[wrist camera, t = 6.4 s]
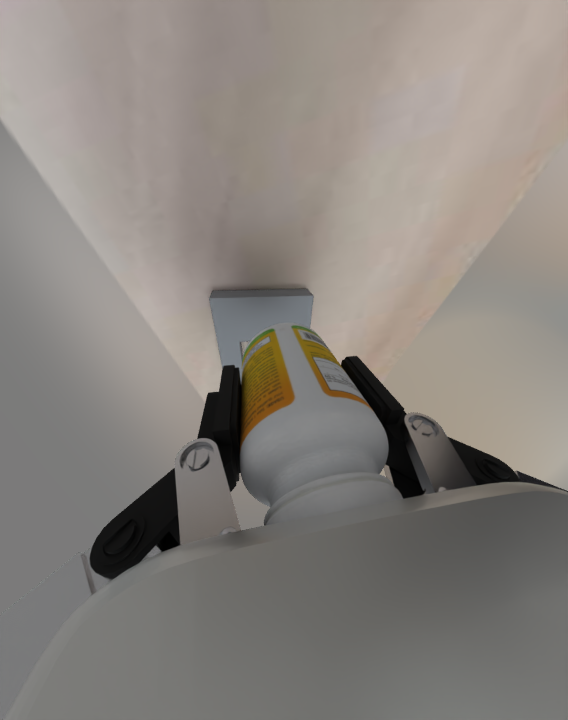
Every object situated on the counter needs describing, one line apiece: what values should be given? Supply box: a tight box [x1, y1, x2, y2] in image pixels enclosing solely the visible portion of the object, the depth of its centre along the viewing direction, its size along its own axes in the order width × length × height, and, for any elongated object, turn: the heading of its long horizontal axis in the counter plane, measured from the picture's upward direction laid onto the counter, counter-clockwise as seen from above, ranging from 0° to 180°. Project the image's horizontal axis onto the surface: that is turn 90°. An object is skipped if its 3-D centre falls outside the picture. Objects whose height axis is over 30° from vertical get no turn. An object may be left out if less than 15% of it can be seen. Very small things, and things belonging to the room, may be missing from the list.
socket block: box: [209, 289, 313, 380], centre depth 29 cm, size 18×12×3 cm, turn 179°
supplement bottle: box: [240, 323, 403, 526], centre depth 9 cm, size 5×5×10 cm
